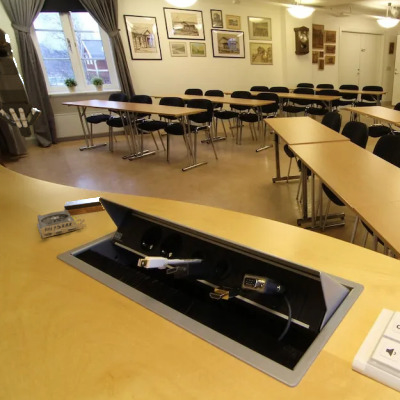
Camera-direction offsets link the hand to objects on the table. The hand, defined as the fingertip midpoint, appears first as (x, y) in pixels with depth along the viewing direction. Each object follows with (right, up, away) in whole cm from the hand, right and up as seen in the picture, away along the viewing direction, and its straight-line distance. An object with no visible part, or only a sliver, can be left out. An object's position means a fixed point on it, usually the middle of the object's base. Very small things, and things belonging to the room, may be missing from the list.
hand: (27, 137), depth 120 cm
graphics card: (+19, -33, -8) cm, 39 cm away
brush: (+14, -27, +1) cm, 31 cm away
